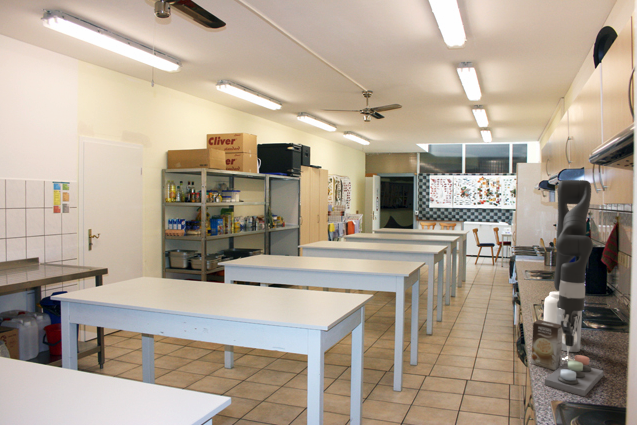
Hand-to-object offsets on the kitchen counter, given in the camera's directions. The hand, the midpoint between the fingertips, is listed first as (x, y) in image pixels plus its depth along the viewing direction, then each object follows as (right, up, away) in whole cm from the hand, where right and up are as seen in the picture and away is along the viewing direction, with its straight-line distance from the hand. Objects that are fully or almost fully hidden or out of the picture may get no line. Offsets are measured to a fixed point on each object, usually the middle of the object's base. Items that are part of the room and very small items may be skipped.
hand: (569, 345), depth 151 cm
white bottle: (+27, -13, +59) cm, 66 cm away
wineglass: (+14, -14, +27) cm, 33 cm away
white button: (0, -11, 0) cm, 11 cm away
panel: (+5, -14, +6) cm, 16 cm away
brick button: (+11, -10, +12) cm, 19 cm away
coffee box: (+2, -14, +20) cm, 25 cm away
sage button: (+5, -10, +6) cm, 13 cm away
